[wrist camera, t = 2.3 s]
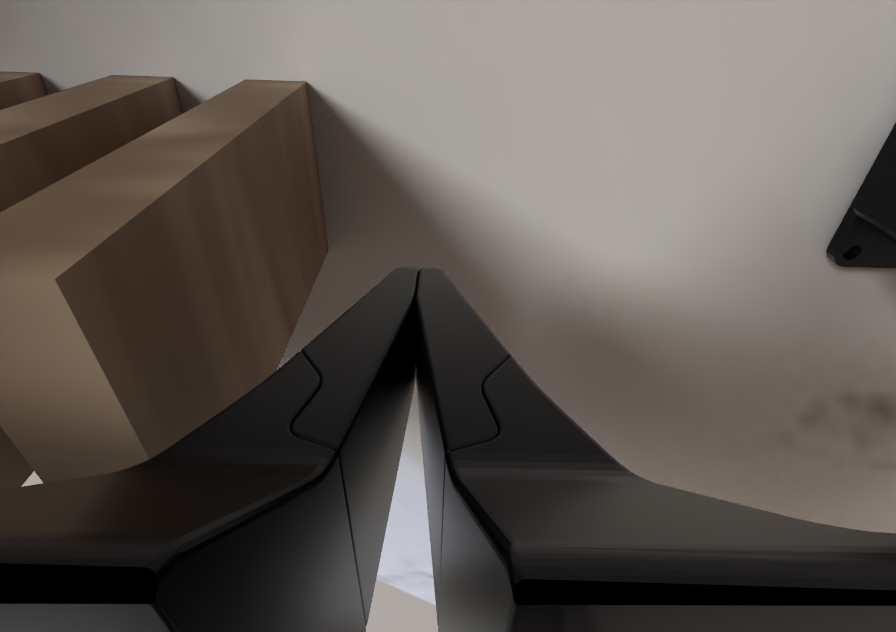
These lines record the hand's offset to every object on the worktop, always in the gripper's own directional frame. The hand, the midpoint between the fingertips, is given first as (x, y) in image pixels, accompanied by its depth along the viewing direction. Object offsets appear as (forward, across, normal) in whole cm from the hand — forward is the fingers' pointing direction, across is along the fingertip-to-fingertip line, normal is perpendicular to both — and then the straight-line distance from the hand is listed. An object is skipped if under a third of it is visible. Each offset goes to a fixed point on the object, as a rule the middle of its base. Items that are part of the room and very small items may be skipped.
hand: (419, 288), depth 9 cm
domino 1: (+6, +4, 0) cm, 7 cm away
